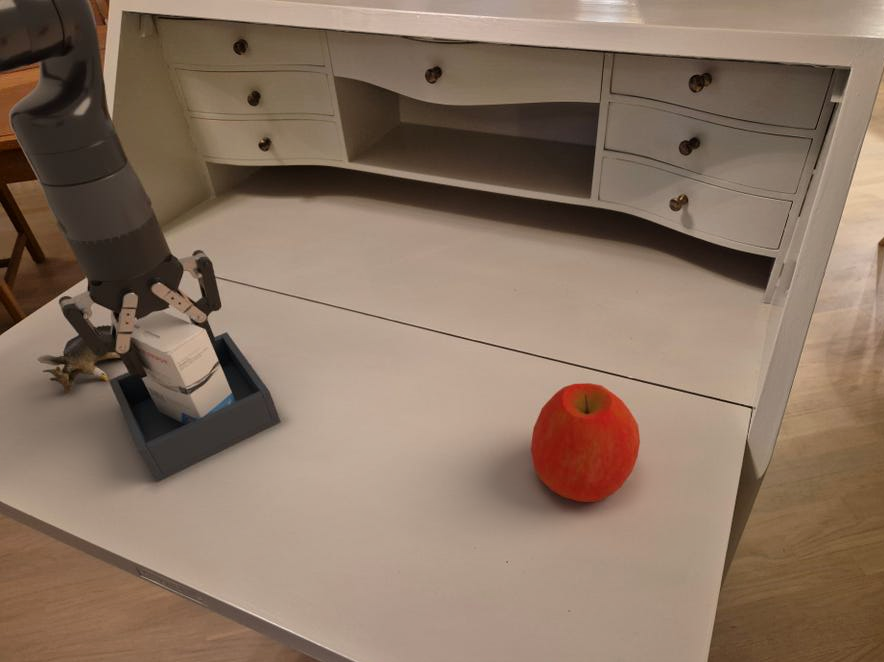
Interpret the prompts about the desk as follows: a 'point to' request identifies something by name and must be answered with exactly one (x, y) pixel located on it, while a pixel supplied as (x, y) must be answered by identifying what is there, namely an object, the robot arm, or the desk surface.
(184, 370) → the ink box
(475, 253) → the desk surface
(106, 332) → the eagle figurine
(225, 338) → the tote
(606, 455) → the apple
